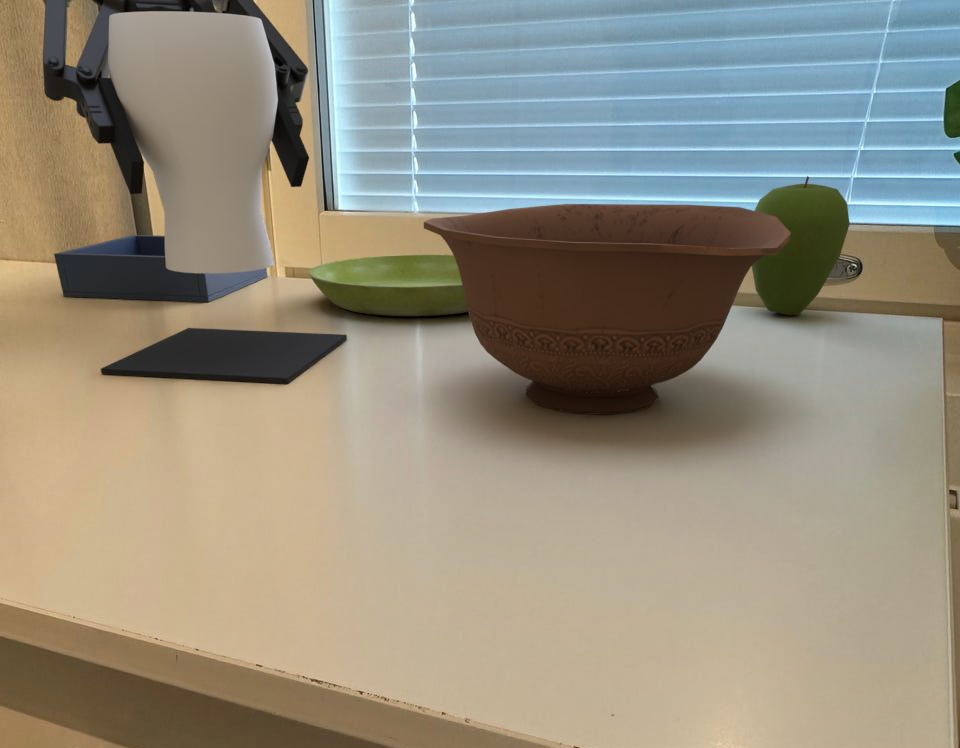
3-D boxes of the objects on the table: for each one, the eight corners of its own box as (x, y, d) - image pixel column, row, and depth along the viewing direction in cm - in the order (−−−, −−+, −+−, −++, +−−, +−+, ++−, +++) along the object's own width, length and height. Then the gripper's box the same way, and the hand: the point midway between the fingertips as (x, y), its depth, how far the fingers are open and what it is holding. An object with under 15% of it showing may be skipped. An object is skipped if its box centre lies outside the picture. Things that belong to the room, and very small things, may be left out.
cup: (322, 261, 67) (302, 21, 59) (233, 283, 59) (196, 7, 51) (211, 252, 71) (178, 26, 63) (113, 272, 63) (61, 13, 55)
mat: (101, 374, 63) (100, 368, 63) (188, 332, 75) (188, 327, 75) (287, 383, 61) (286, 378, 61) (347, 339, 73) (346, 334, 73)
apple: (738, 303, 88) (757, 172, 82) (827, 308, 86) (854, 174, 80) (735, 320, 80) (756, 177, 75) (833, 326, 79) (862, 180, 73)
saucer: (532, 287, 95) (533, 255, 93) (509, 328, 77) (510, 289, 76) (344, 282, 97) (342, 250, 96) (281, 320, 80) (277, 282, 78)
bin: (63, 296, 89) (53, 253, 87) (139, 272, 102) (132, 234, 100) (208, 302, 87) (202, 258, 85) (267, 276, 100) (263, 238, 98)
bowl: (836, 414, 56) (877, 223, 50) (544, 474, 46) (554, 247, 41) (622, 344, 72) (634, 194, 66) (374, 378, 63) (364, 206, 57)
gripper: (260, -23, 72) (360, 206, 68) (-60, -47, 61) (42, 225, 58) (278, -120, 65) (389, 129, 62) (-78, -166, 54) (36, 133, 51)
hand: (222, 175), depth 60 cm, fingers closed on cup, 11 cm apart
